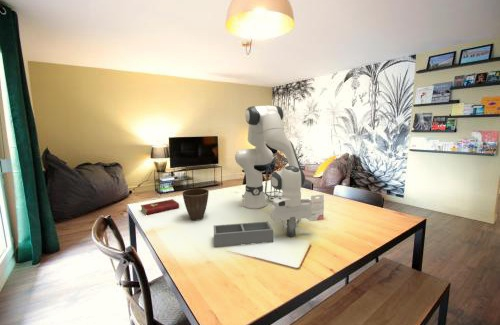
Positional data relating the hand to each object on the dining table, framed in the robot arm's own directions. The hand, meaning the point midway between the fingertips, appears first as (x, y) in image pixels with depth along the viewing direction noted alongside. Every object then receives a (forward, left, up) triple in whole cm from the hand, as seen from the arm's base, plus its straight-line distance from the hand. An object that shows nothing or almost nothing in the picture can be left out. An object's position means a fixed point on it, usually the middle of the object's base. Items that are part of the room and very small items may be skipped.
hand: (291, 227), depth 115 cm
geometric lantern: (-57, +9, -4) cm, 58 cm away
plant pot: (-32, -47, -4) cm, 57 cm away
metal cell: (0, 0, -4) cm, 4 cm away
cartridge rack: (0, -24, -4) cm, 24 cm away
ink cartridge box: (-18, +21, -4) cm, 28 cm away
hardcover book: (-52, -71, -5) cm, 89 cm away
